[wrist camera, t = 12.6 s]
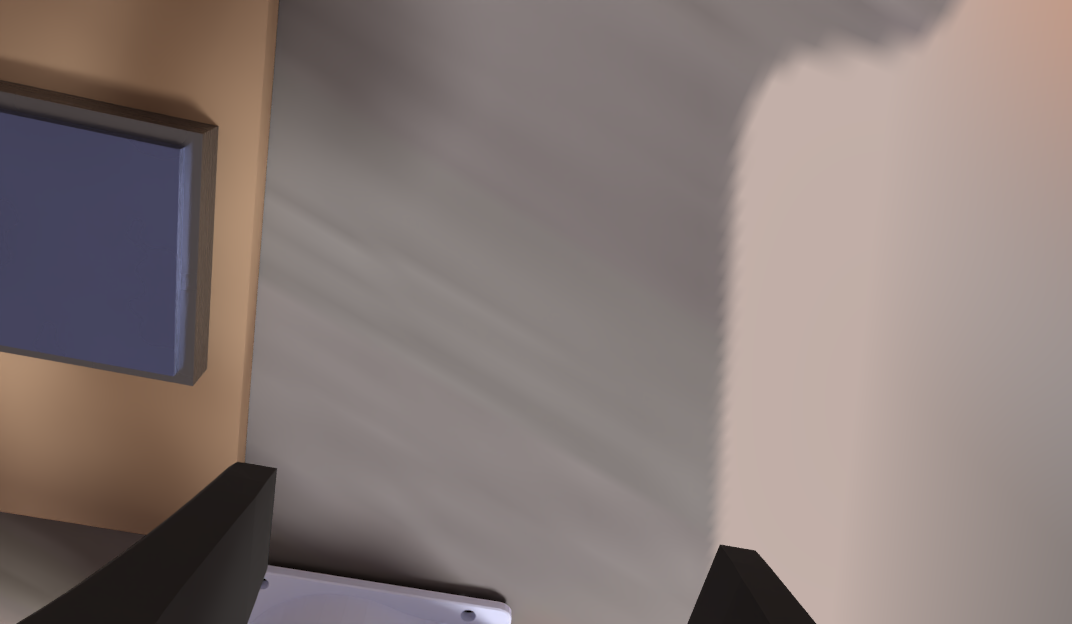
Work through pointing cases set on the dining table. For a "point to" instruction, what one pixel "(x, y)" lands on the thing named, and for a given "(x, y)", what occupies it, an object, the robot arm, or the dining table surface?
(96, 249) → the ink pad
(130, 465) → the stamping board
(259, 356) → the dining table surface
